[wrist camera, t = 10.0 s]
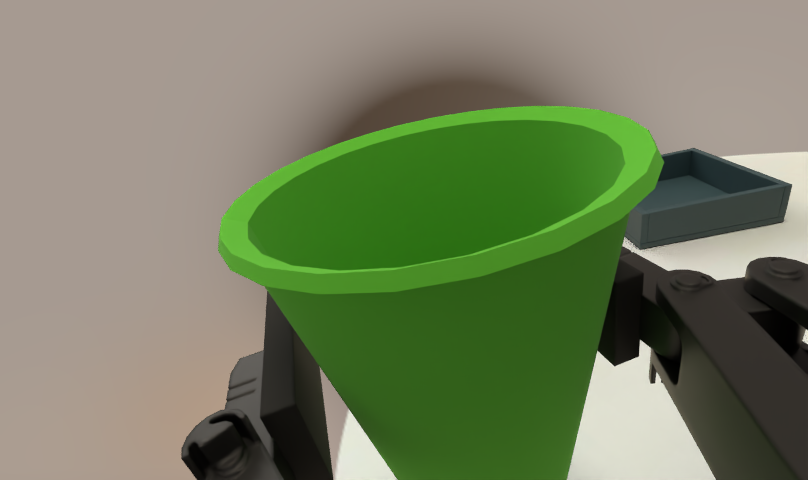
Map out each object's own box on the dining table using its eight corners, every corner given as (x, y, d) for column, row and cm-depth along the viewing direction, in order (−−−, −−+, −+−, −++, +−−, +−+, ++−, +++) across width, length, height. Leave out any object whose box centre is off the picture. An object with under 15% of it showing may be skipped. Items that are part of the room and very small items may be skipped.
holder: (690, 177, 48) (694, 147, 46) (783, 221, 36) (792, 184, 35) (582, 199, 49) (581, 171, 47) (639, 249, 37) (642, 214, 36)
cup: (717, 562, 10) (827, 148, 5) (380, 711, 9) (141, 367, 4) (536, 342, 18) (514, 92, 13) (343, 410, 17) (242, 167, 12)
